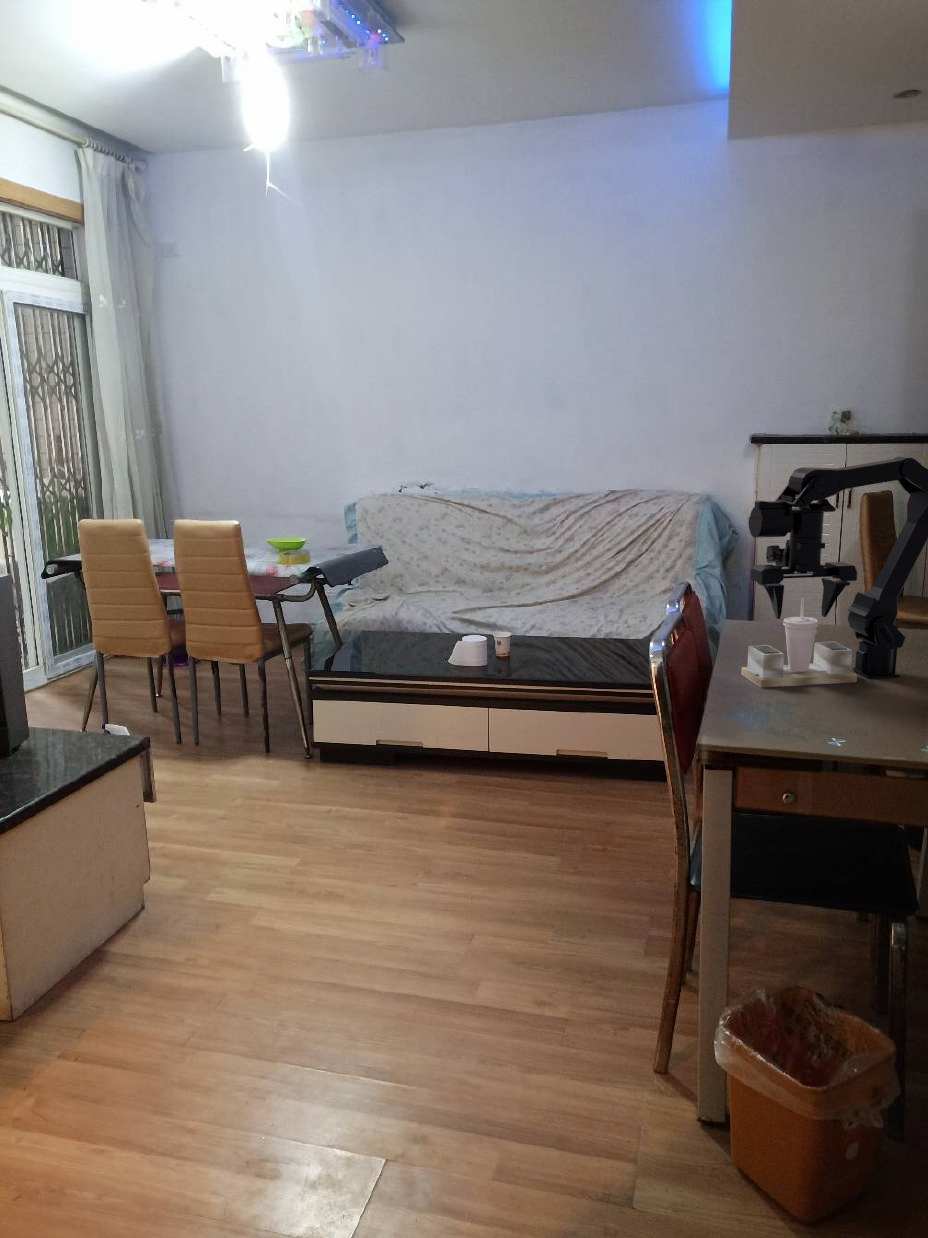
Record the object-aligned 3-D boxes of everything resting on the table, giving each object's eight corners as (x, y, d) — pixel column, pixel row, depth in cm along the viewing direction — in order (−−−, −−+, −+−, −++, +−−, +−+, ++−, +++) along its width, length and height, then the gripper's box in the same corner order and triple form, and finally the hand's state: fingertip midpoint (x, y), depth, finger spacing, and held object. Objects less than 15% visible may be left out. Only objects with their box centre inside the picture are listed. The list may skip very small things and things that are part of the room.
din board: (833, 669, 193) (835, 639, 191) (856, 682, 184) (858, 650, 183) (741, 674, 191) (742, 644, 189) (760, 687, 182) (762, 655, 180)
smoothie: (819, 667, 188) (823, 596, 185) (811, 675, 183) (815, 602, 180) (786, 663, 191) (789, 593, 188) (777, 671, 186) (780, 599, 183)
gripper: (832, 529, 190) (826, 607, 194) (740, 532, 188) (737, 610, 191) (861, 536, 179) (855, 619, 183) (765, 539, 177) (760, 623, 181)
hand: (800, 617), depth 185 cm, fingers open, 9 cm apart
